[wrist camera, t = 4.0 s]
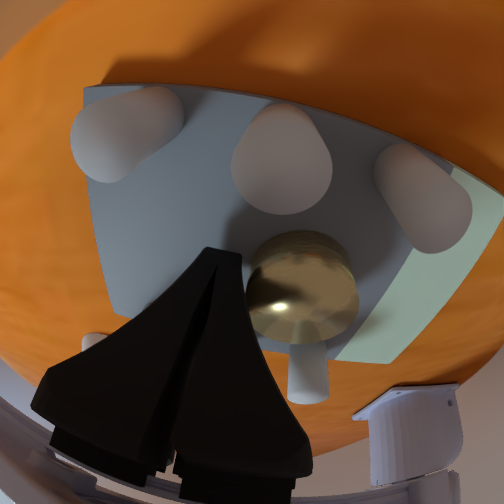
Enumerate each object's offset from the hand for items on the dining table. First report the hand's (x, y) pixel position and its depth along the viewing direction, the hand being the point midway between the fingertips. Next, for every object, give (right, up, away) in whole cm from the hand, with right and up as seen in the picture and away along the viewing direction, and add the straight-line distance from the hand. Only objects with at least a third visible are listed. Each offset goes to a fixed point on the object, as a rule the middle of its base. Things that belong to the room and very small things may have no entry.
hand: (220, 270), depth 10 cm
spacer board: (+3, +1, +1) cm, 3 cm away
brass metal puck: (+3, 0, +1) cm, 3 cm away
